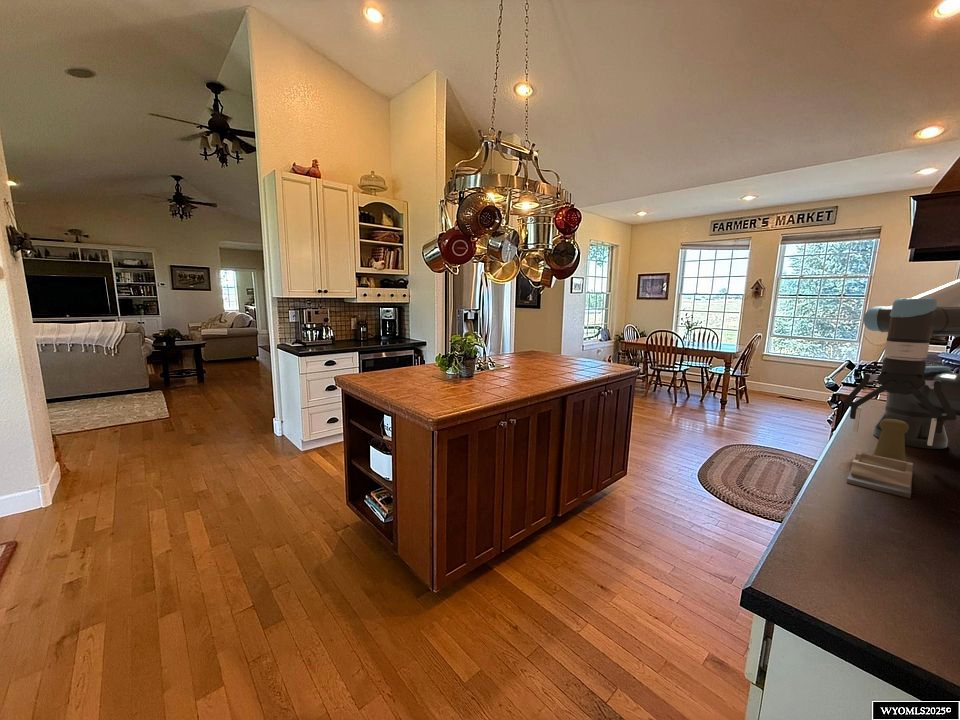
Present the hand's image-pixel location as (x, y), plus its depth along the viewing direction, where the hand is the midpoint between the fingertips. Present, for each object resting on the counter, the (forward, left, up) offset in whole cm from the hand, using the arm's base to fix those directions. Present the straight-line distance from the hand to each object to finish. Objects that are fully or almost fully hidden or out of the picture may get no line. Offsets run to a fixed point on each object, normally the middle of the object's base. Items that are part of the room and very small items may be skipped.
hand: (890, 437), depth 103 cm
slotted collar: (+17, +6, -6) cm, 19 cm away
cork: (0, 0, -6) cm, 6 cm away
